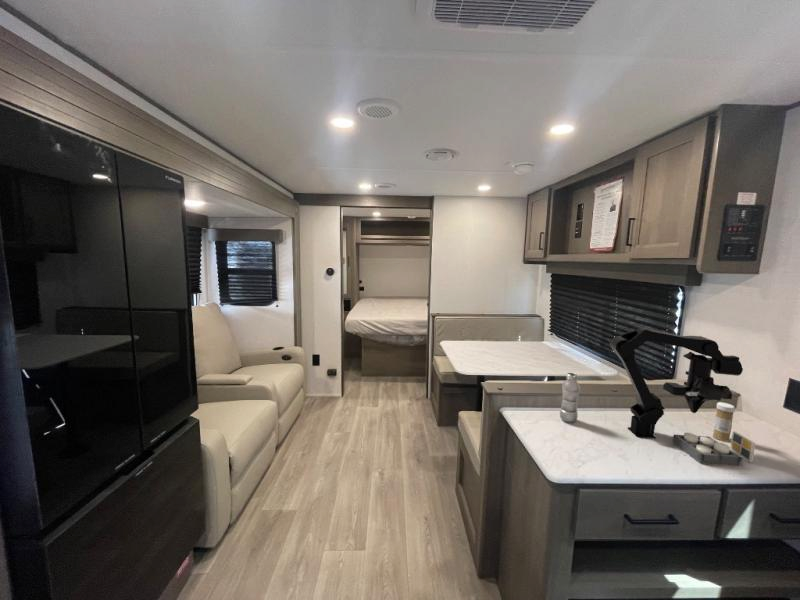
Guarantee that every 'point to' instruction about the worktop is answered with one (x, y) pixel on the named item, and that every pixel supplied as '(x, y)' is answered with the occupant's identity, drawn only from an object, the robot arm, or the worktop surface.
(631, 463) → the worktop surface
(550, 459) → the worktop surface
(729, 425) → the sprinkles bottle
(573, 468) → the worktop surface
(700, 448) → the button
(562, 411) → the plastic bottle
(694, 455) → the button board
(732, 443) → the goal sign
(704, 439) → the button
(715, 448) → the button
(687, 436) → the button
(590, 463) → the worktop surface
